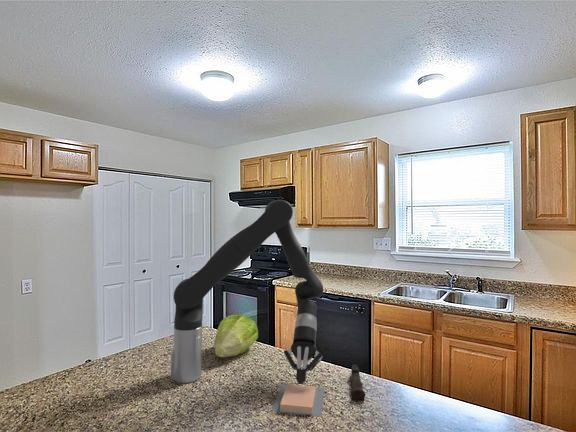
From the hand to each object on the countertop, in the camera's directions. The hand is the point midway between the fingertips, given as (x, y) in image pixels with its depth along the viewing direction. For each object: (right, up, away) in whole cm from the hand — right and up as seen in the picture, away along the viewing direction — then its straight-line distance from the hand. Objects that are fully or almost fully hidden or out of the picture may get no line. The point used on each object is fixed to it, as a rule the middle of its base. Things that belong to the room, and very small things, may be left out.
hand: (300, 383), depth 102 cm
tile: (0, -3, +2) cm, 4 cm away
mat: (0, -4, -2) cm, 5 cm away
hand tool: (+18, -5, +7) cm, 20 cm away
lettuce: (-27, -5, +34) cm, 44 cm away
